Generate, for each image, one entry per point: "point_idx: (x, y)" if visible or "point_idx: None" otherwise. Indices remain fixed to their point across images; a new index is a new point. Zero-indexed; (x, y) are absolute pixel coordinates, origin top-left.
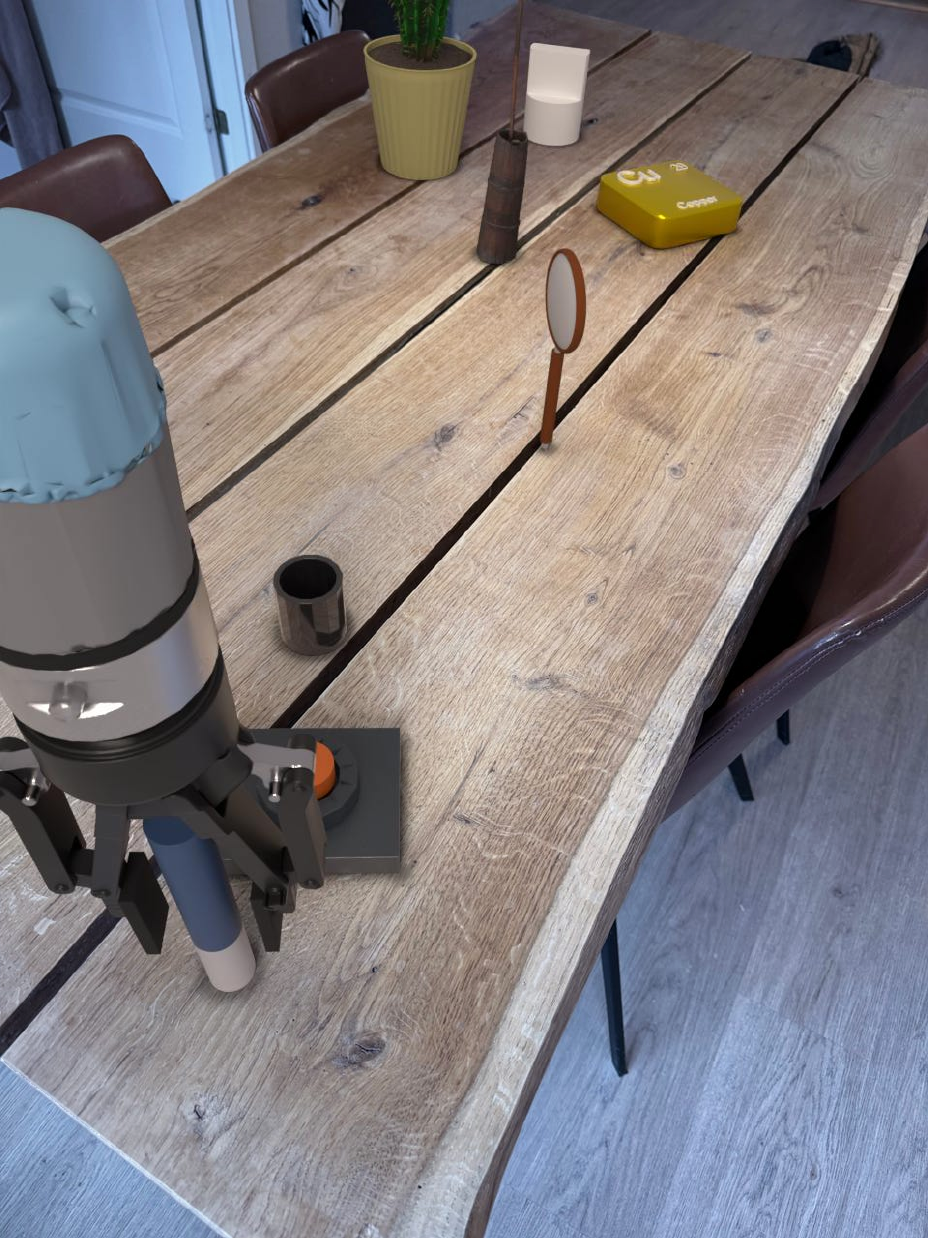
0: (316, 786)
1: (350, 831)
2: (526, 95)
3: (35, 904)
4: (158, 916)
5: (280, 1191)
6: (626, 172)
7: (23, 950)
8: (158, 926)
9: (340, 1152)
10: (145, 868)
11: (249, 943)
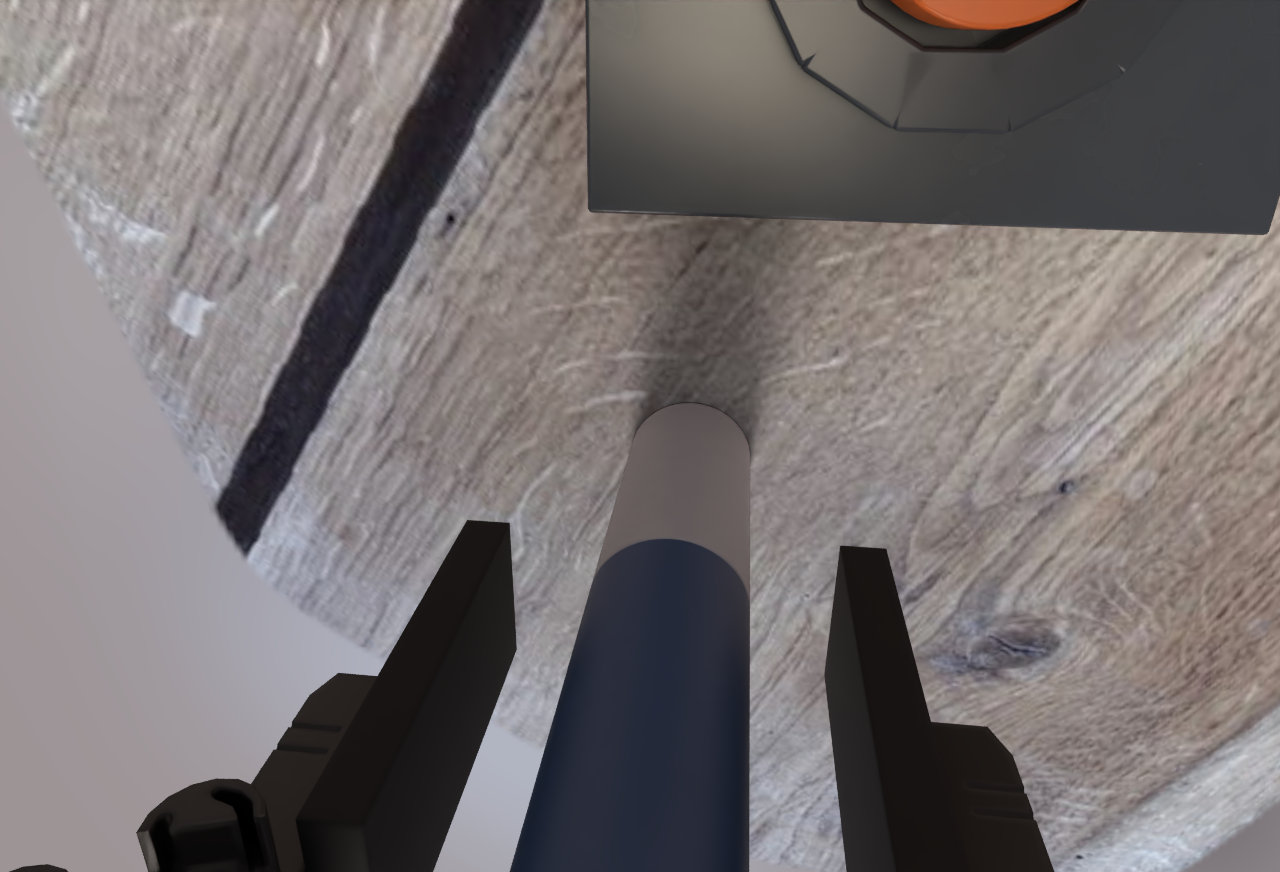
0: (1049, 14)
1: (1105, 120)
2: None
3: (141, 253)
4: (486, 653)
5: (815, 830)
6: None
7: (171, 372)
8: (493, 658)
9: None
10: (392, 810)
11: (748, 503)
